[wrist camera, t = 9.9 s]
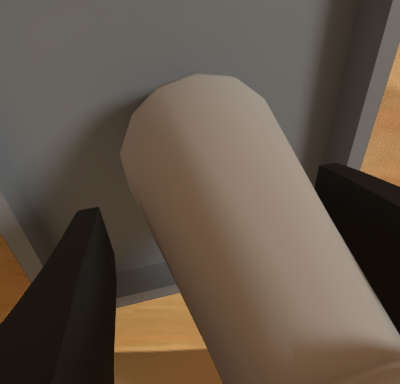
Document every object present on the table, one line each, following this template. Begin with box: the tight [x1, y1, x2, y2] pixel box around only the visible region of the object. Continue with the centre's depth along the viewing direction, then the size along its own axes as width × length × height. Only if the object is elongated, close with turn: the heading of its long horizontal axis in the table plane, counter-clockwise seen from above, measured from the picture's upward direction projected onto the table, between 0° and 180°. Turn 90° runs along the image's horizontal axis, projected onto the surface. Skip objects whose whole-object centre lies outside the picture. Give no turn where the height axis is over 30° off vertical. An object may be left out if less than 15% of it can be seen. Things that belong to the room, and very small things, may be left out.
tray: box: [0, 0, 400, 308], centre depth 13 cm, size 16×16×2 cm
